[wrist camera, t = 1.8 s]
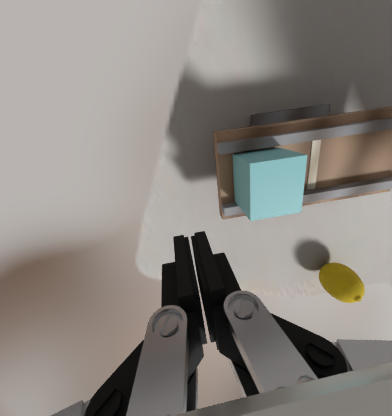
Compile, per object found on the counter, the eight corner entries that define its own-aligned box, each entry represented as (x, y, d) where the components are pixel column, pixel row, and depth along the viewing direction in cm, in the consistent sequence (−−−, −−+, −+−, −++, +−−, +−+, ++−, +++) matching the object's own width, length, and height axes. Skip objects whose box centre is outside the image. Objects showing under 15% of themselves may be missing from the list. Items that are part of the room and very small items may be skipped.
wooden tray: (367, 98, 27) (432, 92, 20) (350, 184, 32) (397, 201, 25) (205, 121, 25) (218, 122, 19) (213, 207, 30) (225, 231, 24)
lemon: (315, 253, 37) (351, 286, 30) (342, 254, 38) (383, 286, 30) (305, 277, 39) (337, 313, 32) (330, 277, 40) (366, 312, 33)
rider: (278, 147, 21) (307, 154, 17) (275, 194, 24) (301, 212, 19) (232, 153, 21) (250, 163, 17) (234, 201, 23) (250, 220, 19)
